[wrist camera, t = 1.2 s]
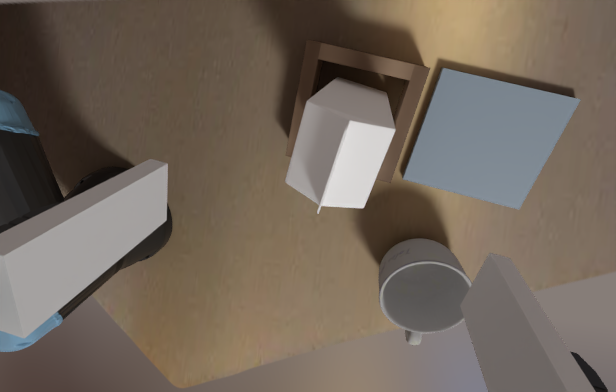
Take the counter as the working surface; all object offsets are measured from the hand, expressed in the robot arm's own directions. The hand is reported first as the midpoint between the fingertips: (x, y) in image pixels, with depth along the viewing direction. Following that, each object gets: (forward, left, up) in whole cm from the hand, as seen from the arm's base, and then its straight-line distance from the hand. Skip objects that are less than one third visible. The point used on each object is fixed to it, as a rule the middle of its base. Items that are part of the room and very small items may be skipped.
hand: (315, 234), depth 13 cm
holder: (0, 0, -28) cm, 29 cm away
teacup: (+14, -19, -29) cm, 37 cm away
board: (+15, 0, -29) cm, 32 cm away
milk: (0, 0, -29) cm, 29 cm away
